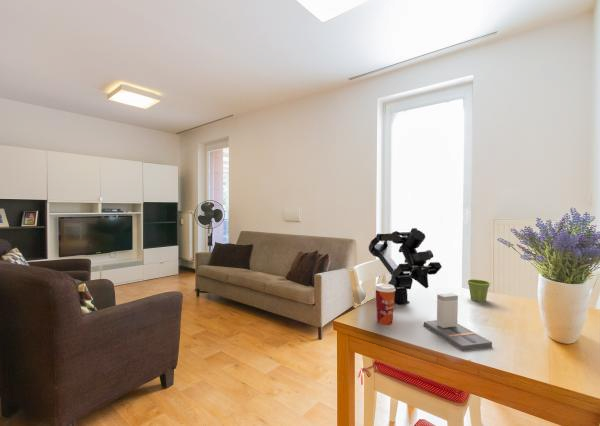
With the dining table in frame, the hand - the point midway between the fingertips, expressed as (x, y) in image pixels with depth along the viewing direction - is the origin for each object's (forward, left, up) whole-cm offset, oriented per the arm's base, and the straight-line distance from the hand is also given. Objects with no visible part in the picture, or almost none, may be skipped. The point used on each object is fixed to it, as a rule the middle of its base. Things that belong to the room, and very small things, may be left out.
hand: (427, 287), depth 116 cm
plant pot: (-7, +39, -12) cm, 42 cm away
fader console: (+15, -3, -12) cm, 20 cm away
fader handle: (+11, -2, -10) cm, 16 cm away
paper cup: (-3, -18, -12) cm, 22 cm away
